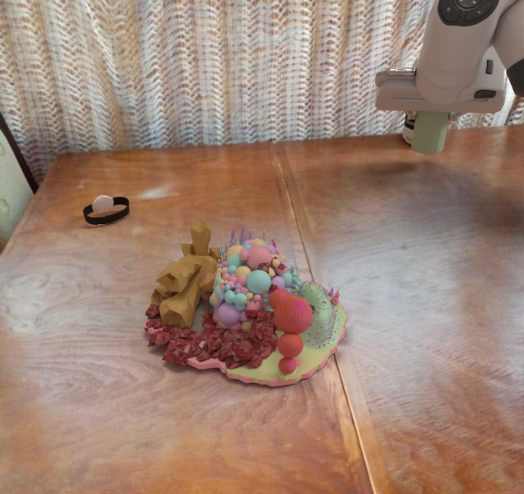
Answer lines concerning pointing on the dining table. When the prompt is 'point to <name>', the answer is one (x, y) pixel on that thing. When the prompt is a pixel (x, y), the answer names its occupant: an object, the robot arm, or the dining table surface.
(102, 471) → the dining table surface
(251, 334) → the pastel sphere sculpture
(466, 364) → the dining table surface
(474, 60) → the robot arm
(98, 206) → the watch
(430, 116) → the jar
